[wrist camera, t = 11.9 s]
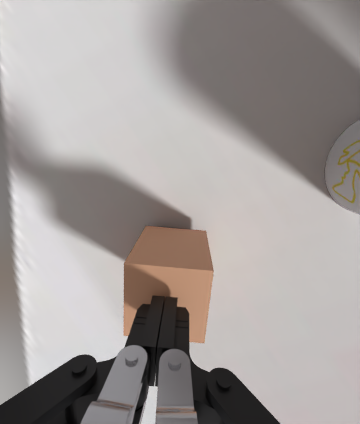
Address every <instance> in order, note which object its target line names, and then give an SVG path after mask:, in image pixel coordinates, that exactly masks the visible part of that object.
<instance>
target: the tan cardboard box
mask: <svg viewBox="0 0 360 424" xmlns="http://www.w3.org/2000/svg"><path fill="white" fill-rule="evenodd" d="M213 272H214V270H213V265H212V260H211V255H210V250H209V245H208V239H207V234H206V231H201V230H189V229H177V228H165V227H154V226H146V227H145V228H144V230H143V232H142V233H141V235H140V237H139V239H138V240H137V242H136V244H135V245H134V247H133V249H132V250H131V252H130V254H129V256H128V257H127V259H126V261H125V262H124V336H129V333H130V330H131V327H132V324H133V321H134V318H135V315H136V312H137V309H138V308H139V307H140V306H141V305H142V304H151V300H152V296H153V295H155V296H165V298H166V296H167V297H178V300H177V307H186V309H187V310H188V312H189V342H196V343H204V342H205V334H206V326H207V318H208V311H209V303H210V295H211V287H212V280H213Z"/></svg>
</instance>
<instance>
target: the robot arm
mask: <svg viewBox="0 0 360 424" xmlns="http://www.w3.org/2000/svg"><path fill="white" fill-rule="evenodd" d="M177 300H178V297H167V296H166V298H165V296H155V295H153V296H152V300H151V304H142V305H141V306H140V307H139V308H138V309H137V312H136V315H135V318H134V321H133V324H132V327H131V330H130V333H129V336H128V339H127V342H126V345H125V347H124V348H123V349H122V350H121V351H120V352H119V353H118V355H117V356H116V357H115V358H113V359H110V360H107V361H102V362H98V363H97V362H96V360H95V358H94V357H92V356H90V355H79V356H76V357H74V358H72V359H71V360H69V361H68V362H66V363H65V364H63V365H62V366H60V367H58V368H57V369H55V370H54V371H52V372H51V373H49V374H48V375H46V376H45V377H43V378H41V379H40V380H38V381H37V382H35V383H34V384H32V385H31V386H29V387H28V388H26V389H24V390H23V391H21V392H20V393H18V394H17V395H15V396H14V397H12V398H11V399H9V400H8V401H6V402H4V403H3V404H1V405H0V424H141V421H142V417H143V413H144V409H145V404H146V399H147V394H148V389H149V386H154V382H155V376H156V382H155V386H158V391H157V407H156V422H155V424H280V423H279V422H278V421H277V420H276V419H275V417H274V416H273V415H272V414H271V413H270V412H269V411H268V410H267V409H266V408H265V407H264V406H263V405H262V404H261V402H260V401H259V400H258V399H257V398H256V397H255V396H254V395H253V394H252V393H251V392H250V391H249V390H248V389H247V387H246V386H245V385H244V384H243V383H242V382H241V381H240V380H239V379H238V378H237V377H236V376H235V375H234V374H233V373H232V372H231V371H229V370H227V369H225V368H215V369H213V370H211V371H210V372H207V371H205V370H203V369H201V368H199V367H198V366H196V365H195V364H194V363H193V361H192V360H191V358H190V354H189V312H188V310H187V309H186V307H177Z"/></svg>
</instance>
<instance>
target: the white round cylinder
mask: <svg viewBox="0 0 360 424" xmlns="http://www.w3.org/2000/svg"><path fill="white" fill-rule="evenodd" d="M325 182H326V186H327V189H328V191H329V193H330V195H331V196H332V198H333V199H334V200H335V201H336V202H337V203H338V204H339V205H340V206H342V207H343V208H345V209H347V210H349V211H352V212H355V213H357V214H360V120H358V121H356V122H355V123H353V124H352V125H351V126H349V127H348V128H347V129H346V130H345V131H344V132H343V133H342V134H341V135H340V136H339V137H338V139H337V140H336V142H335V143H334V145H333V146H332V148H331V150H330V152H329V155H328V158H327V161H326V166H325Z"/></svg>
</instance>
